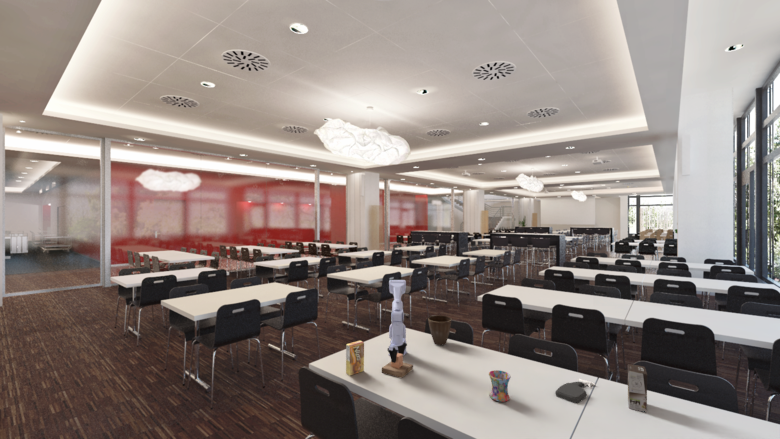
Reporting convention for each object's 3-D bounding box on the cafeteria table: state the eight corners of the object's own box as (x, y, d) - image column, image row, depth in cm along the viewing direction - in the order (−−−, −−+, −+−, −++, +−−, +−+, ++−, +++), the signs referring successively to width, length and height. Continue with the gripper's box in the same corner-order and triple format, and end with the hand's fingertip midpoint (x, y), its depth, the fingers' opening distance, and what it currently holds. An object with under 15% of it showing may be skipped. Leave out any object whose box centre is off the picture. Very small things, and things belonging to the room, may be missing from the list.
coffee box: (647, 413, 144) (647, 374, 144) (628, 408, 147) (628, 370, 147) (645, 403, 152) (645, 366, 152) (627, 399, 155) (627, 363, 155)
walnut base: (393, 365, 192) (393, 359, 192) (412, 370, 186) (412, 364, 186) (381, 373, 182) (381, 367, 182) (401, 379, 175) (401, 373, 175)
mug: (508, 406, 149) (508, 381, 149) (486, 400, 154) (486, 376, 154) (513, 393, 160) (513, 370, 160) (492, 388, 164) (492, 366, 164)
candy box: (359, 368, 186) (359, 340, 186) (364, 371, 183) (364, 342, 183) (345, 373, 181) (345, 343, 181) (350, 376, 178) (350, 346, 178)
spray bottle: (552, 396, 158) (574, 380, 175) (578, 406, 150) (598, 388, 166) (553, 389, 158) (574, 374, 175) (578, 399, 150) (598, 382, 166)
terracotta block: (395, 363, 187) (395, 352, 187) (402, 365, 185) (402, 354, 185) (391, 366, 183) (391, 355, 183) (398, 368, 181) (398, 357, 181)
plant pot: (427, 346, 218) (427, 321, 218) (428, 338, 233) (428, 314, 233) (451, 348, 215) (451, 322, 215) (451, 340, 230) (451, 315, 230)
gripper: (397, 328, 192) (397, 353, 192) (383, 336, 180) (383, 362, 180) (409, 331, 188) (409, 356, 188) (395, 339, 176) (395, 365, 176)
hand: (397, 359), depth 184 cm, fingers open, 7 cm apart
